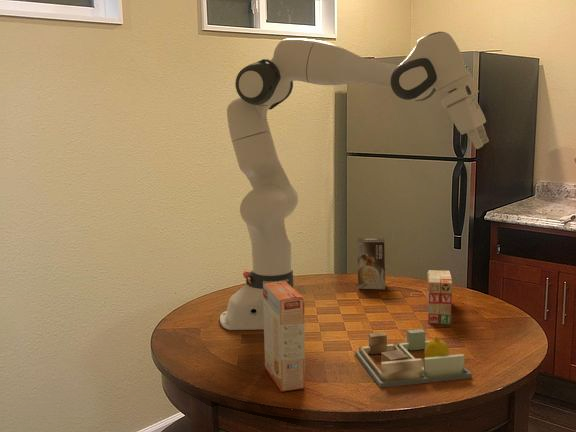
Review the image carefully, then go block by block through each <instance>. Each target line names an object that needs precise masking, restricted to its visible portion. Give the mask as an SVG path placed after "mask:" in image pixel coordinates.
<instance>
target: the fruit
mask: <svg viewBox="0 0 576 432" xmlns="http://www.w3.org/2000/svg"><path fill="white" fill-rule="evenodd" d="M428 341H429V340H428ZM449 354H450V350H449V347H448V345H447V343H446V342H445V341H444V340H442V339H440V338H439V337H438V336H435V337H434V338H433V339H431V341H429V342H428V343H427V345H426V348H425V349H424V358H428V357H438V356H448V355H449Z"/></svg>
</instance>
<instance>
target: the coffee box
mask: <svg viewBox="0 0 576 432" xmlns="http://www.w3.org/2000/svg"><path fill="white" fill-rule="evenodd" d="M385 240H386V239H385V238H384V237H383V238H379V237H378V238H377V237H376V238H375V237H374V238H373V237H366V238H363V237H362V238H361V237H358V238H357V243H356V245H357V251H356V252H357V289H359V290H386V248H385V247H386V246H385V245H386V244H385V243H386V242H385Z"/></svg>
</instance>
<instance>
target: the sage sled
mask: <svg viewBox="0 0 576 432" xmlns="http://www.w3.org/2000/svg"><path fill="white" fill-rule="evenodd" d="M431 340H432V339H431ZM431 340H426V331H425V330H424V329H423V328H418V329H408V330H406V342H400V343H399V342H398V343H397V347H398V348H399V349H400V350H401V351H402V352H403V353H404V354H405V355H407V356H408V357H409V359H416V358H415V357H414V356H413V355H412V354H411V353H410V352H409V351H416V350H417V351H418V350H425V348H426V345H427V343H428V342H429V341H431ZM464 367H465V354H463V353H461V354H450V355H448V356H438V357H428V358H425V357H424V358H423V365H422V378H424V377H434V376H443V375H453V374H462V373H464Z"/></svg>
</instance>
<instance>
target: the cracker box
mask: <svg viewBox="0 0 576 432" xmlns="http://www.w3.org/2000/svg"><path fill="white" fill-rule="evenodd" d="M263 304H264V329H263V337H264V338H263V339H264V368H265V370H266V371H267V373H268V374H269V376H270V378H271V379H272V381H273V382H274V383H275V385H276V386H277V387H278V389H279V390H280V392H282V393H283V392H289V391H295V390H296V391H297V390H303V389H306V359H305V356H306V354H305V353H306V347H305V346H306V345H305V344H306V343H305V341H306V340H305V339H306V338H305V297H304V296H303V295H302V294H300V292H299V291H298V290H296V289H295V288H294V287H293V288H292V287H291V286H290V285H289V284H288V283H287V282H286V281H280V282H272V283H264V284H263Z"/></svg>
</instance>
